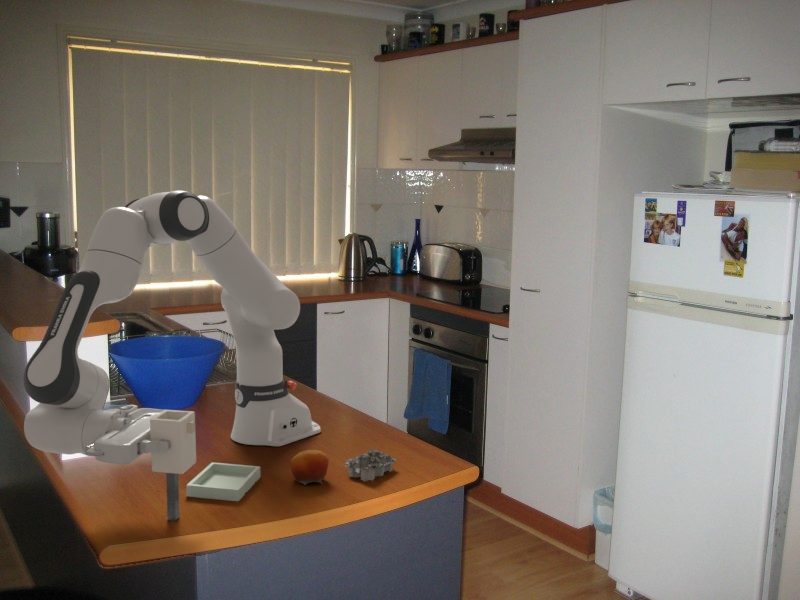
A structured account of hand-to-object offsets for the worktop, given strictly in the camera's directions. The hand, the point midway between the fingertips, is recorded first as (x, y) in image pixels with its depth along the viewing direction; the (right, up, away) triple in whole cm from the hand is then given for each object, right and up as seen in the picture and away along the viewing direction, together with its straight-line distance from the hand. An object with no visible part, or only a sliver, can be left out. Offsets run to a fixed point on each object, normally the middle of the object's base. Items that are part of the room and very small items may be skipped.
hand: (178, 438), depth 148 cm
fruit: (+22, -13, +22) cm, 34 cm away
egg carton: (+35, -13, +28) cm, 46 cm away
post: (-2, -16, +3) cm, 16 cm away
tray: (+5, -13, +18) cm, 23 cm away
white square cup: (-1, -5, +1) cm, 6 cm away
